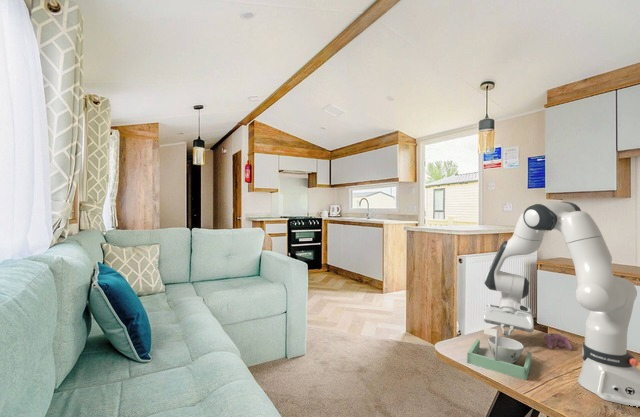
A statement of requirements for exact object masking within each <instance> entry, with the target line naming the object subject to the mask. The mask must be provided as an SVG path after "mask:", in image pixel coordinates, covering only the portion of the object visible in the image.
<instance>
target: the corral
mask: <svg viewBox="0 0 640 417" xmlns="http://www.w3.org/2000/svg"><path fill="white" fill-rule="evenodd" d="M483 328H484V329H483V334H484V335H488V336H490V337H492V336H496V338H495V357H494V358H492V357H488V356H485V355H481V354H478V352H479V350H480V347H481V346H480V344H481V339H478V338H477V339H475V341H474V343H472V345H471V347H470V348H469V350H468V351H467V354H466V355H467V356H466V357H467V358H466V363H467V364H470V365H474V366H477V367H481V368H484V369H486V370H491V371H494V372H497V373H501V374H504V375H508V376H511V377H514V378H517V379H520V380H524V381H527V380H528V378H529V373H530V368H531V365H532V352H530V351H527V353H526V357H525V362H524V365H523V366H521V365H518V364H517V365H516V364H514V363H513V364H510V363H507V362H503V361H499V360H497V352H498V337H499V329H498V328H496V329H495V328H491V327H486V326H484V327H483Z"/></svg>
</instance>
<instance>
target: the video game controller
mask: <svg viewBox="0 0 640 417" xmlns="http://www.w3.org/2000/svg"><path fill="white" fill-rule="evenodd" d="M543 339H544V341H545V343H546V345H547V347H548V349H550V350H553V348H555V347H556V346H558V347H559V348H564V346H566V349H568V350H569V351H573V346H572V344H571V342H570V340H569V339H568V337H566V336H565V335H564V334H560V333H553V332H552V333H548V334H545V335H543ZM556 341H557V342H556Z"/></svg>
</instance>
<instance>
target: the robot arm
mask: <svg viewBox="0 0 640 417" xmlns="http://www.w3.org/2000/svg"><path fill="white" fill-rule="evenodd" d="M553 230H557V231H559V232H560V233H561V235H562V236H563V240H564V241H565V244H566V247H567V250H568V252H569V255H570V257H571V260H572V263H573V265H574V270H575V279H576V290H575V298H576V301H577V302H578V304H579V305H580V306H581V307H583V309H586V310H588V311H589V313H588V316H587V318H586V320H585V322H584V342H583V343H582V348H581V350H582V352H581V353H582V354H581V356H582V365H581V370H580V373H579V374H578V375H579V376H578V377H577V383H578V384H579V385H580V386H581V387H582V388H585V389H586V390H587V391H589V392H590V393H591V392H592V393H593V394H594V395H596V396H598V397H600V398H601V399H602V400H604V401H606V402H607V401H608V402H612V403H615V404H616V403H617V404H621V405H625V406H629V405H630V406H631V407H633V406H636V407H635V408H638V406H640V369H639V368H638V366H639V362H638V360H637V359H636V358H635V356H633V354H632V353H631V352H628V351H627V347H628V346H627V344H628V330H629V329H628V328H629V326H630V325H629V324H630V321H631V317H632V313H633V309H634V304H635V300H636V298H637V296H638V291H637V288H636V286H635V285H634V284H633V282H632V281H630V280H628V279H626V278H624V277H619V276H615V275H614V272H613V267H612V266H613V265H612V261H613V256H612V254H611V252H610V250H609V247H608V245H607V242H606V240H605V239H604V236H603V234H602V231H601V230H600V228H599V227H598V225H597V223H596V221H594V219H593V217H592V216H591V215H590V214H589V213H588V212H587V211H584V210H583V211H582V209H581V208H580V206H578V205H577V204H575V203H574V202H569V201H560V202H559V201H557V202H554V201H549V202H543V203H542V202H541V203H536V204H535V203H534V204H533V205H530V206H528V207H526V209H525V210H524V212H521V213H520V215H519V217H518V220H517V222H516V224H515V227H514V230H513V233H512V235H511V237H510V238H509V239H507V240H504V241H502V243H501V245H500V247H499V248H498V250H497V252H496V254H495V256H494V258H493V261H492V262H491V265H490V267H489V268H488V270H487V272H486V273H485V275H484V278H483V283H484V285H485V286H486V288H487V289H489V290H491V291H496V292H500V293H501V294H500V295H501V297H500V301H499V303H498V304H499V305H494V304H486V305H485V306H484V313H483V316H482V317H483V321H484V323H486V324H490V325H496V326H499V327H500V329H501V332H502V334H501V335H502V336H504V337H508V338H509V337H511V334H512V333H513V332H514V330H517V331H523V332H526V333H530V334H532V333H534V330H535V329H534V328H535V327H534V326H535V325H534V318H533V314H532V313H533V312H532V309H531V308H530V307H528V306H526V305H524V304H522V303H521V301H522V299H525V298H526V297H528V295H529V290H530V281H529V279H528V278H527V277H526V276H524V275H519V274H514V273H511V272H506V271H502V270H501V268H502V267H503V264H504V263H505V261H506V260H507V259H508V258H510V257H514V256H526V255H532V254H533V253H535V252H537V251H538V250H540V247H541V246H542V242H543V239H544V234H545V231H547V232H548V231H550V232H551V231H553ZM506 328H507V329H509V330H506ZM630 406H629V407H630Z"/></svg>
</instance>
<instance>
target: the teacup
mask: <svg viewBox="0 0 640 417" xmlns="http://www.w3.org/2000/svg"><path fill="white" fill-rule="evenodd" d="M495 338H496V336H490V337H489V338H488V339H487V344H488V347H489V351H490V352H491V354H492V356H493V357H494V358H495ZM523 351H524V345H523V344H522V343H521V342H520V341H518V340H516V339H513V338H509V337H507V336H501V337H500V336H498V352H497V360H499V361H503V362H507V363H510V364H514V363H515V362H518V361H519V359H520V357H521V356H522V353H523Z"/></svg>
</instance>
